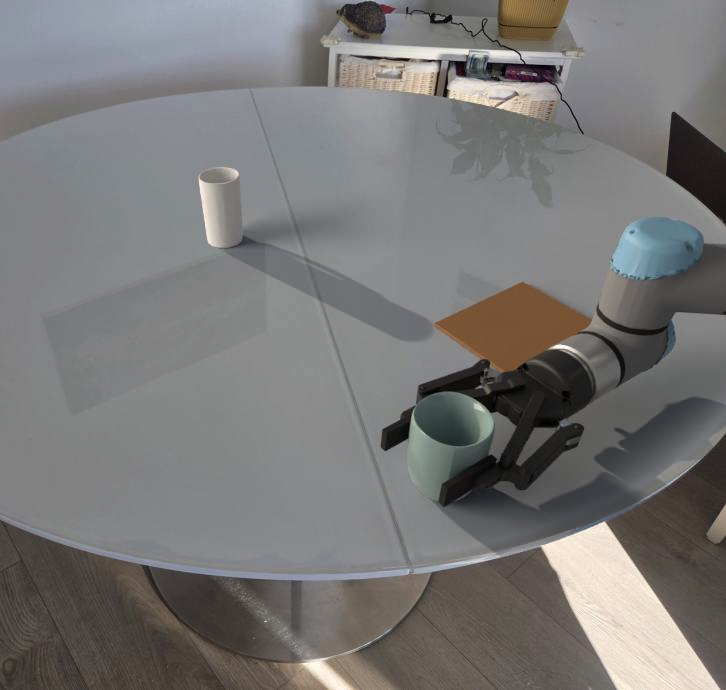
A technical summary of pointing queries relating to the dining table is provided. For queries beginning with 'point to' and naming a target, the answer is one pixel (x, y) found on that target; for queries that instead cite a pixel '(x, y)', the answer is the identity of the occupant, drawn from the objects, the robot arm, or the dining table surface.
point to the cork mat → (513, 326)
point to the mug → (221, 206)
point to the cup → (446, 439)
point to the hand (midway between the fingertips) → (412, 466)
